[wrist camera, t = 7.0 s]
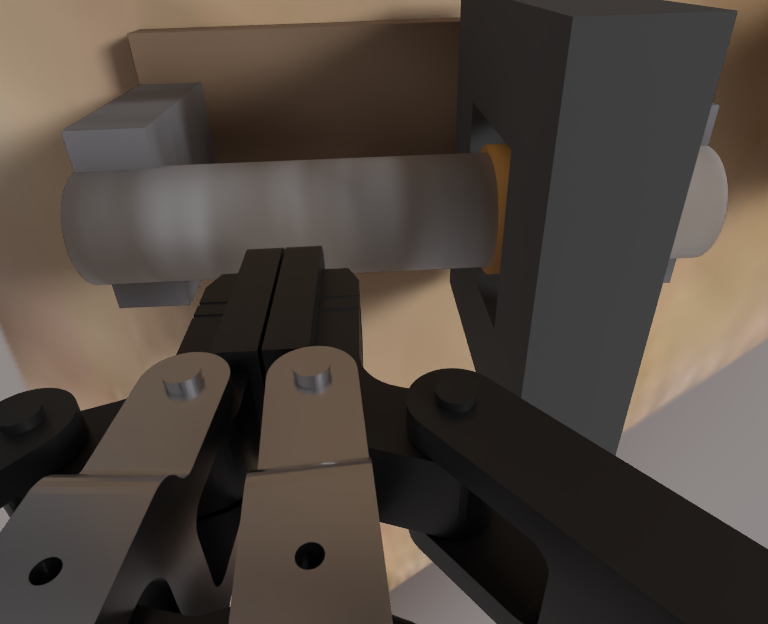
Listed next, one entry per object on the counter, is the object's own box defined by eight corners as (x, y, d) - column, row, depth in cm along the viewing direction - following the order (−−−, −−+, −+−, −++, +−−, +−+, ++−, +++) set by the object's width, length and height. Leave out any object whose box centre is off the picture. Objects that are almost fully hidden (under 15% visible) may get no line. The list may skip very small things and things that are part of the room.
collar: (461, -14, 16) (572, 16, 8) (542, -17, 16) (737, 11, 8) (450, 282, 22) (509, 487, 13) (510, 279, 22) (608, 481, 13)
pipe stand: (139, 29, 18) (-3, 77, 11) (618, 11, 19) (786, 47, 11) (191, 248, 23) (113, 386, 15) (580, 231, 23) (684, 358, 16)
